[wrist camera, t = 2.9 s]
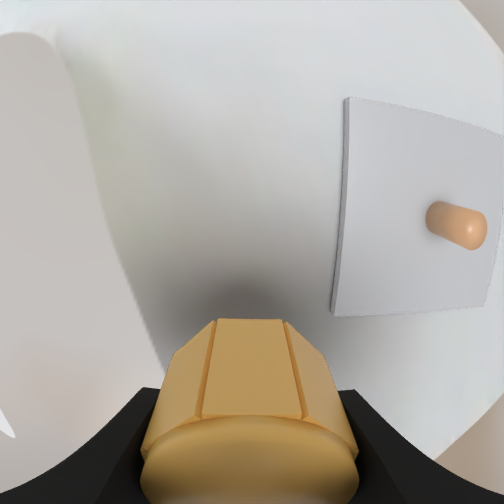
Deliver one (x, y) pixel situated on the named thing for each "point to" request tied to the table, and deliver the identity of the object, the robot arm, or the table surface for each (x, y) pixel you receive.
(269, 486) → the wire nut
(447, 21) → the table surface
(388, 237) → the plate
